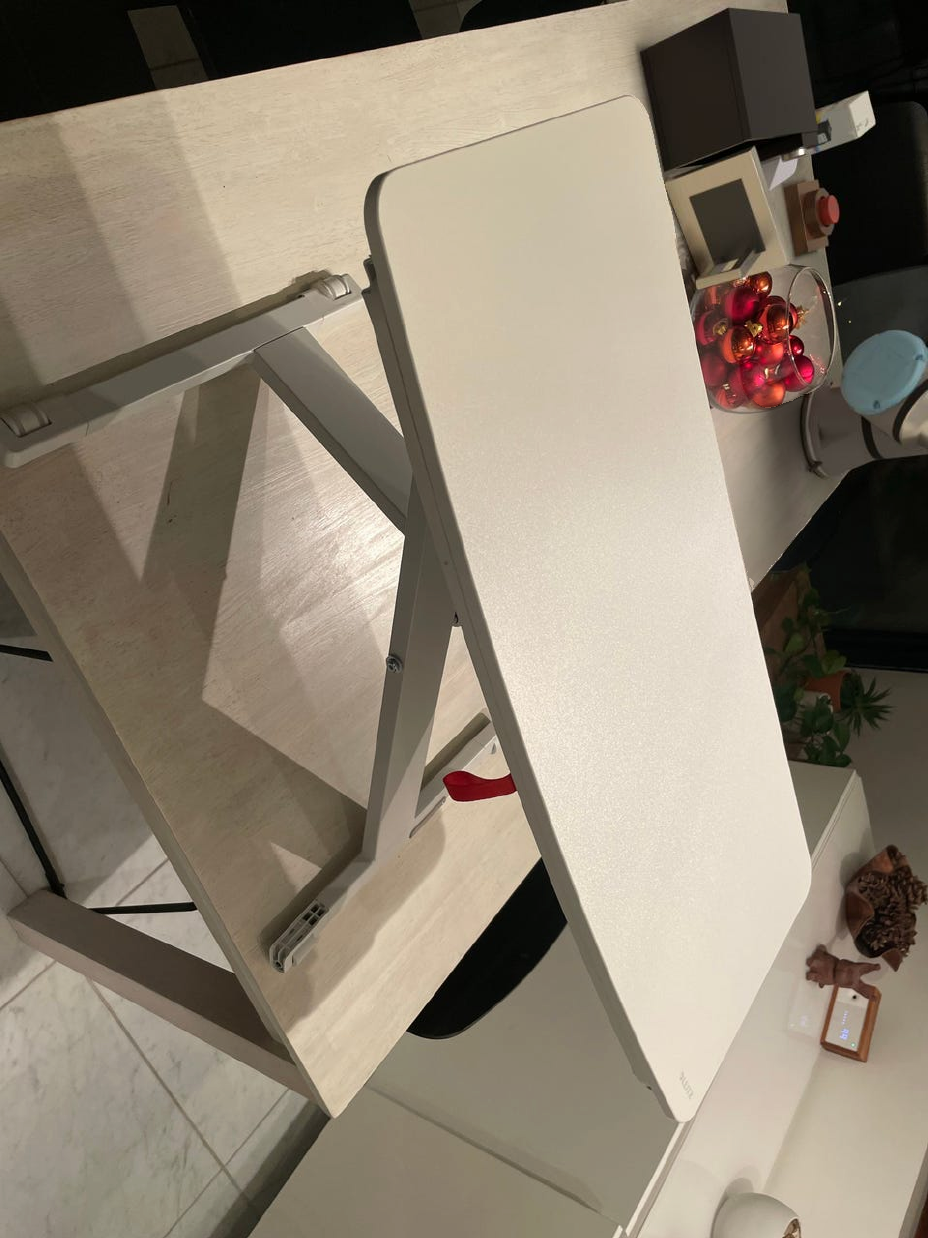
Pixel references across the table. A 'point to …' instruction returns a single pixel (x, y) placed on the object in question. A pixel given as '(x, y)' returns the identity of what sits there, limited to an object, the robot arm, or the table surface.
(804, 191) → the box
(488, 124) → the table surface
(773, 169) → the wedge on round base
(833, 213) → the button
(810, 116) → the box
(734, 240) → the door
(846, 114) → the ink box
